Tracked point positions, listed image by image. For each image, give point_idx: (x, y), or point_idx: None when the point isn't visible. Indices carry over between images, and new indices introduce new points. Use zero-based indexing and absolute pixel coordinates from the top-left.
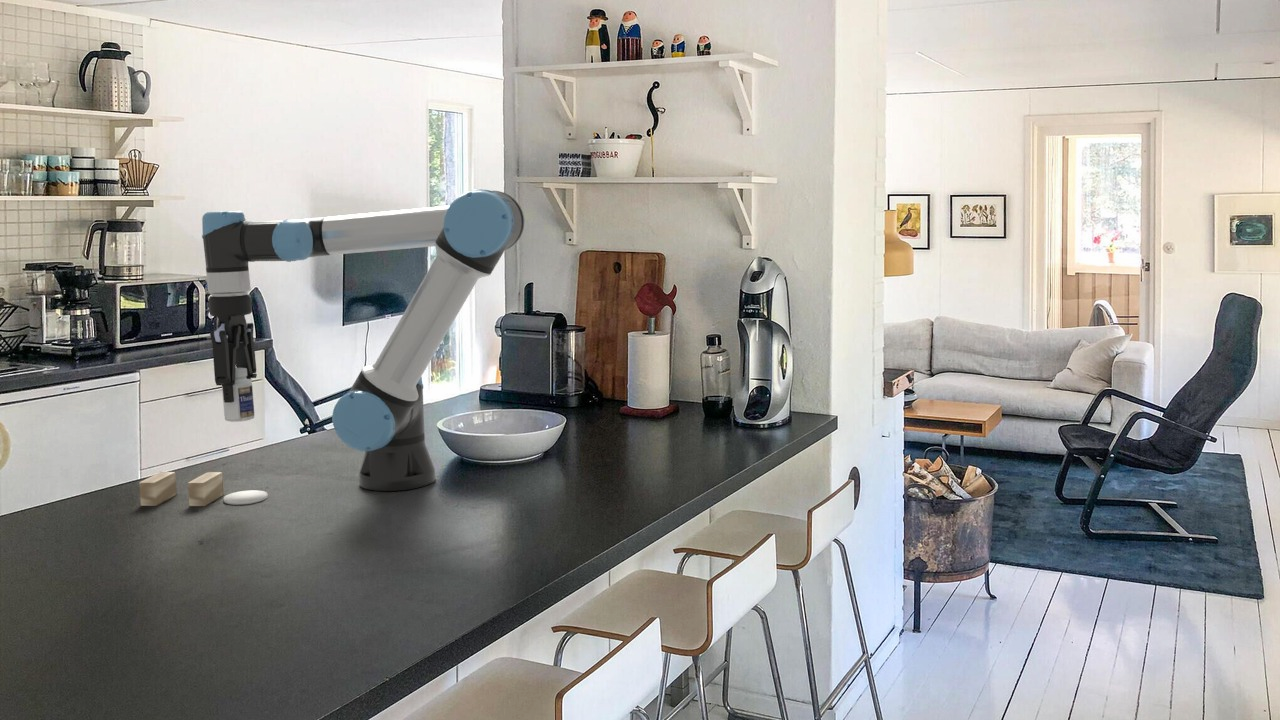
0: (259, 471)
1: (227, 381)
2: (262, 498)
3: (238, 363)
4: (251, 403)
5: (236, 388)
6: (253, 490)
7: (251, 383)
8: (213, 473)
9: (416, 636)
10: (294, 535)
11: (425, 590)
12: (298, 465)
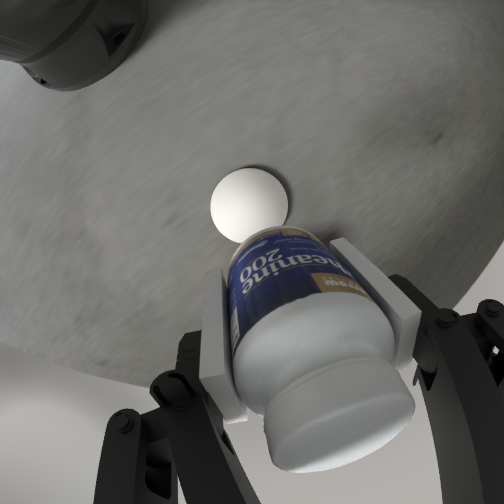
0: (100, 300)
1: (497, 303)
2: (251, 168)
3: (253, 495)
4: (289, 247)
5: (408, 300)
6: (213, 218)
7: (290, 312)
8: None
9: None
10: (390, 33)
11: None
12: (51, 265)
